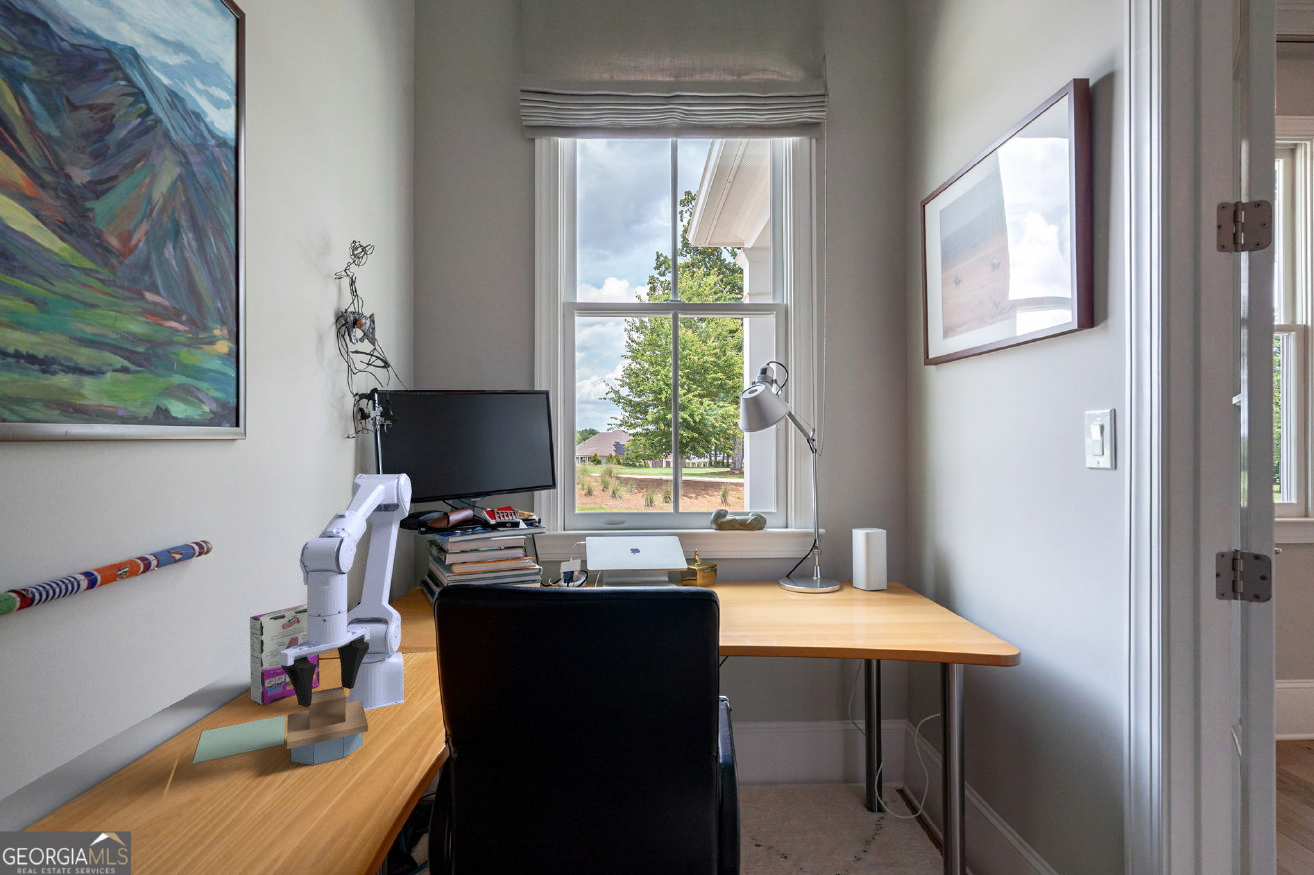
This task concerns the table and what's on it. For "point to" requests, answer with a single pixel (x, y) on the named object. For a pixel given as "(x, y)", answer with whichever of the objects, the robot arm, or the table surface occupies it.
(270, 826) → the table surface
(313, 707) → the lid
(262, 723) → the mat
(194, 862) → the table surface
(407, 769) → the table surface
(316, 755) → the bowl
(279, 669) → the candy bar box
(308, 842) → the table surface
